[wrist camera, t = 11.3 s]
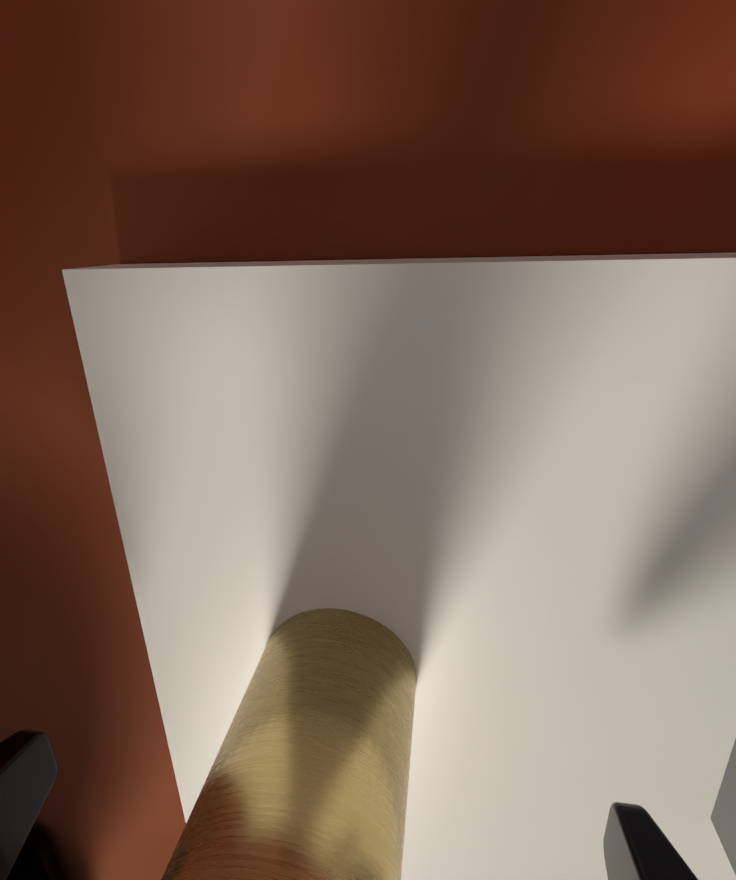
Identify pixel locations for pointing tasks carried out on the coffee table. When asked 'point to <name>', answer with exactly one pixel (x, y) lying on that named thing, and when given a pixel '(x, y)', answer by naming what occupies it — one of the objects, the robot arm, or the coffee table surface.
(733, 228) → the coffee table surface
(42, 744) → the robot arm
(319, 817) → the pin
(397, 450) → the board
